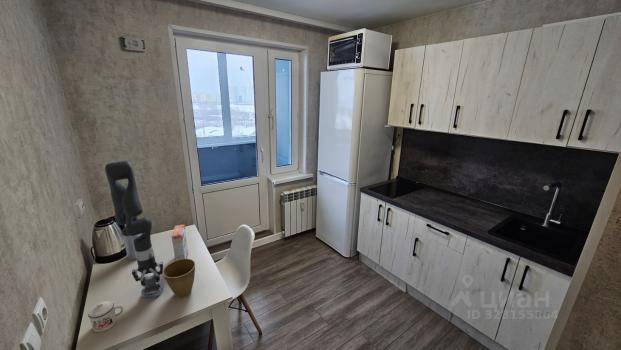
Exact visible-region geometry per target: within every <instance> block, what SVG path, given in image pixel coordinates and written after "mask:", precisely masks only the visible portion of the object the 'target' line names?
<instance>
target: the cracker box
mask: <svg viewBox="0 0 621 350" xmlns="http://www.w3.org/2000/svg"><path fill="white" fill-rule="evenodd" d="M171 242H172V248H173V254H174V261H176V260H179V259H188V255H189V247H188V237H187V232H186V225H185V224H178V225H174V229H173V231H172V234H171Z"/></svg>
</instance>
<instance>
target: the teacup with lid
mask: <svg viewBox="0 0 621 350" xmlns="http://www.w3.org/2000/svg"><path fill="white" fill-rule="evenodd" d="M117 309H121V310H120V312H118V313H117V312H116V310H117ZM123 312H124V307H123V306H122V305H117V306H115V303H114V302H113V301H111V300H110V301H109V300H105V301H101V302H98V303H96V304H95V305H93V306H92V307H91V308H90V309H89V310H88V313H87V317H89V319H90V324H91V327H92V329H93V332H96V333H103V332H105V331H107V330H109V329H111V328H112V327H114V326H115V325H116V323H117V322H118V317H119V316H120V315H122V314H123Z"/></svg>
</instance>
